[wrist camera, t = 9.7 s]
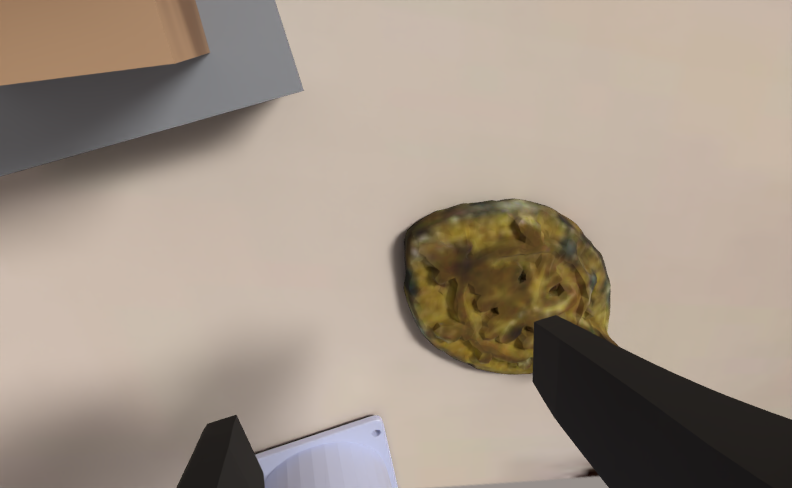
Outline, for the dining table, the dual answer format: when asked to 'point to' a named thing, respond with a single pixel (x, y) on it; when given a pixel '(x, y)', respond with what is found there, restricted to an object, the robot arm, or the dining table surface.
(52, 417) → the dining table surface
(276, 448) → the robot arm
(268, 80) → the grey block
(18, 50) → the walnut cube
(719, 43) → the dining table surface
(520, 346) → the seal
